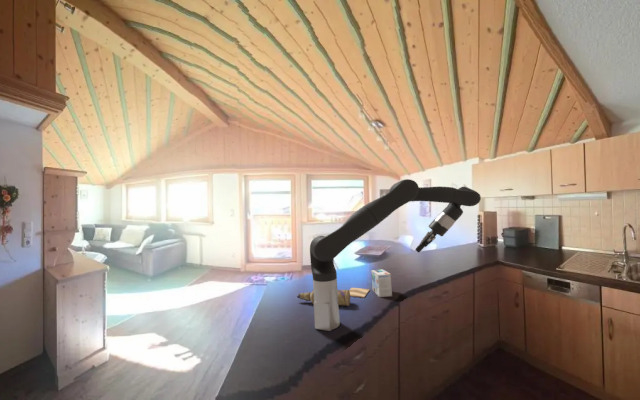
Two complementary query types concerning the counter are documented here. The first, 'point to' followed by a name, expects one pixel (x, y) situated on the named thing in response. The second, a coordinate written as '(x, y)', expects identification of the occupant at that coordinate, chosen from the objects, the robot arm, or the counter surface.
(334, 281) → the robot arm
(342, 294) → the decorative bottle
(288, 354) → the counter surface
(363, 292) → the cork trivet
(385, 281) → the light bulb box
